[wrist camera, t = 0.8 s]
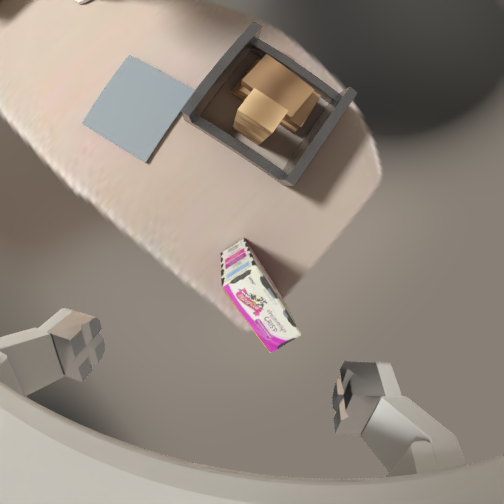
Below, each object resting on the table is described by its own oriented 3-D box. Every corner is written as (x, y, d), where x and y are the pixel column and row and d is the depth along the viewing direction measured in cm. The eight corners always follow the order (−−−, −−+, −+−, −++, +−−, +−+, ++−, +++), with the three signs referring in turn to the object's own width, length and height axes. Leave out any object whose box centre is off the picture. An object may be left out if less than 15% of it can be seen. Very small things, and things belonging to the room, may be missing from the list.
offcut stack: (231, 93, 45) (233, 82, 39) (255, 63, 44) (260, 49, 38) (293, 134, 48) (303, 128, 42) (314, 102, 47) (326, 93, 41)
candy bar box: (218, 253, 50) (219, 286, 34) (244, 236, 50) (256, 262, 34) (254, 306, 53) (270, 355, 37) (279, 290, 53) (304, 335, 37)
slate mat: (83, 123, 43) (81, 123, 42) (130, 56, 41) (129, 54, 40) (146, 163, 46) (145, 162, 45) (195, 91, 44) (195, 90, 43)
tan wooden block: (232, 128, 46) (237, 109, 33) (244, 111, 46) (254, 87, 33) (258, 145, 47) (272, 132, 34) (270, 128, 47) (288, 110, 34)
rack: (185, 120, 45) (180, 110, 38) (248, 40, 43) (253, 21, 36) (283, 185, 49) (294, 185, 42) (340, 102, 47) (357, 92, 40)
